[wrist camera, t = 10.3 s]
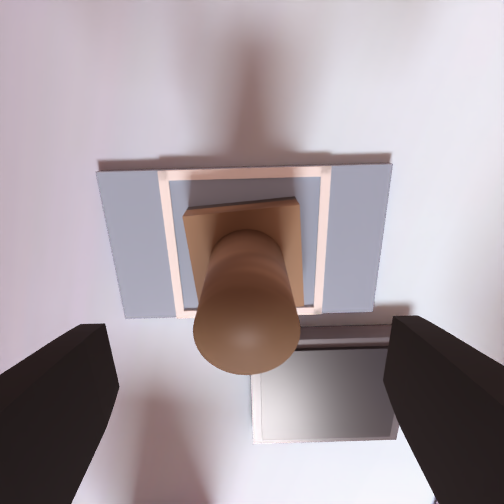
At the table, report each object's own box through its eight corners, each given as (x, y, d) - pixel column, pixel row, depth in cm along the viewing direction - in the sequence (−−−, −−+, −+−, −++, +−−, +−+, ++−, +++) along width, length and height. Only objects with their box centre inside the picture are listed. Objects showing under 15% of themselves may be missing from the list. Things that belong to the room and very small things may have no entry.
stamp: (294, 196, 14) (326, 251, 8) (299, 290, 16) (328, 387, 10) (188, 207, 14) (150, 268, 8) (204, 298, 16) (181, 400, 10)
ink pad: (408, 324, 17) (419, 339, 16) (389, 424, 20) (397, 442, 18) (249, 328, 17) (249, 344, 16) (252, 428, 20) (253, 447, 18)
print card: (389, 163, 14) (393, 164, 13) (370, 308, 16) (373, 312, 16) (98, 170, 14) (94, 172, 13) (127, 315, 16) (124, 320, 16)
